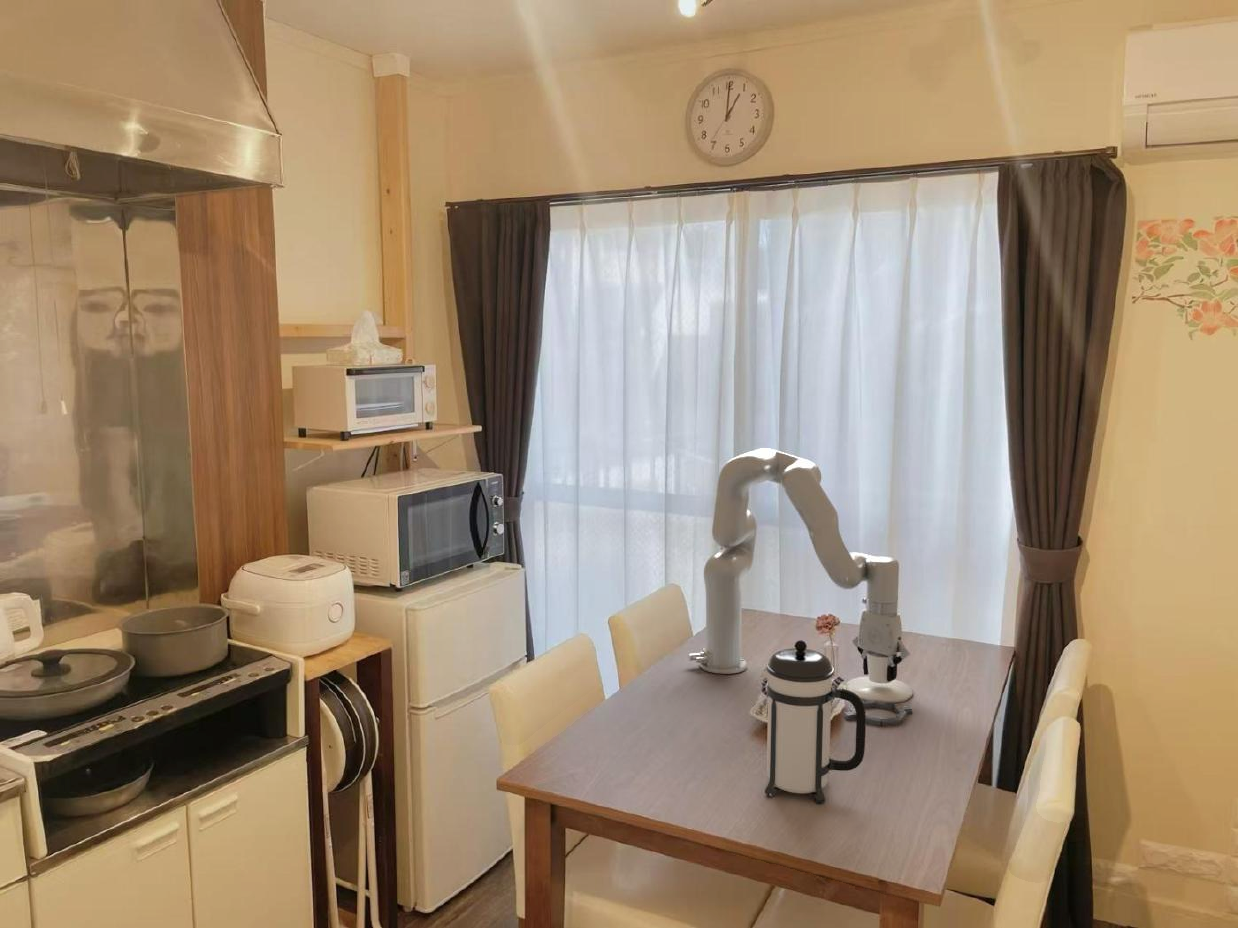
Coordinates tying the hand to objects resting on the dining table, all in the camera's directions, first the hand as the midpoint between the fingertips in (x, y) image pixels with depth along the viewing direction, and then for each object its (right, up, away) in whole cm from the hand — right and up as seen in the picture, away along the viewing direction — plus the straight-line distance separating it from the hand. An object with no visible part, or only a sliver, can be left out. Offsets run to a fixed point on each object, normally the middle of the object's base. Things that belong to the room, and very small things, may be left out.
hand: (879, 676), depth 234 cm
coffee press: (-29, -11, -50) cm, 59 cm away
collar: (-5, -6, -15) cm, 17 cm away
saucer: (0, -4, 0) cm, 4 cm away
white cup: (0, -1, 0) cm, 1 cm away
